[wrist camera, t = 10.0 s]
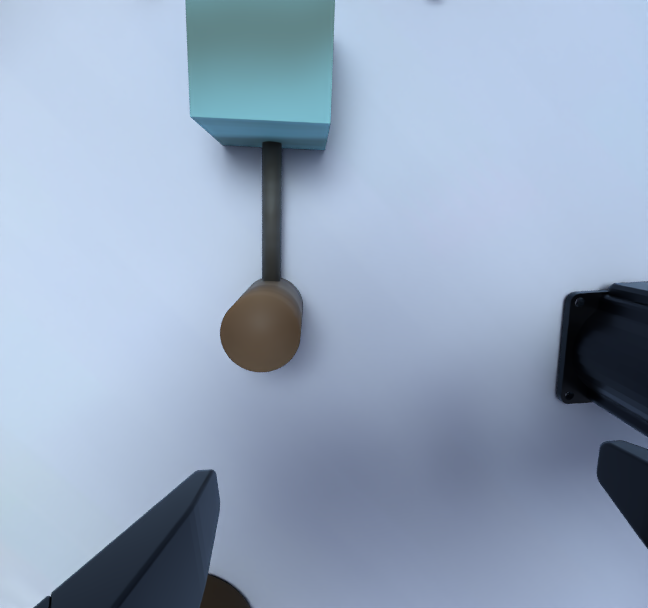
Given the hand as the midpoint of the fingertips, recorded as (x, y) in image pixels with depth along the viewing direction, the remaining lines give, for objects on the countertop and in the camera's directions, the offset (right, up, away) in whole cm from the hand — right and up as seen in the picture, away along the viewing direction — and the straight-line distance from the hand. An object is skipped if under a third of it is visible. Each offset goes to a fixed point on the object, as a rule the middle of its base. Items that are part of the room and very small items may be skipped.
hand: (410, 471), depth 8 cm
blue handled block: (-4, +9, +10) cm, 14 cm away
